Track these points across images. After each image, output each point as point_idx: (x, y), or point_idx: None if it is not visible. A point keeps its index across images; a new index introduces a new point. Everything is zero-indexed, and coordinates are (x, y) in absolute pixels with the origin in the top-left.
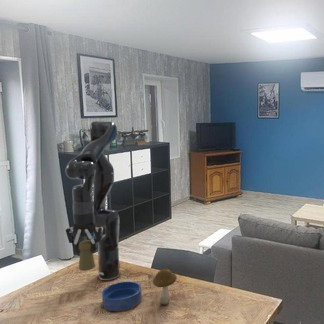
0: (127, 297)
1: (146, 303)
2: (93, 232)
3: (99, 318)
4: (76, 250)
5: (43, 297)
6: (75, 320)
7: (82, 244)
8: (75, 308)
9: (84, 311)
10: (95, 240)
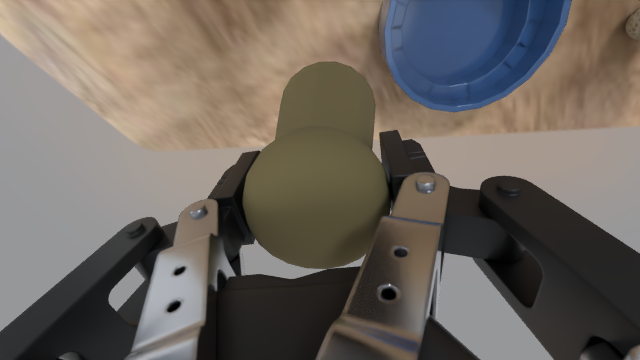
0: (507, 92)
1: None
2: (434, 280)
3: (399, 129)
4: None
5: (123, 13)
6: None
7: (314, 267)
8: None
9: None
10: (454, 245)
